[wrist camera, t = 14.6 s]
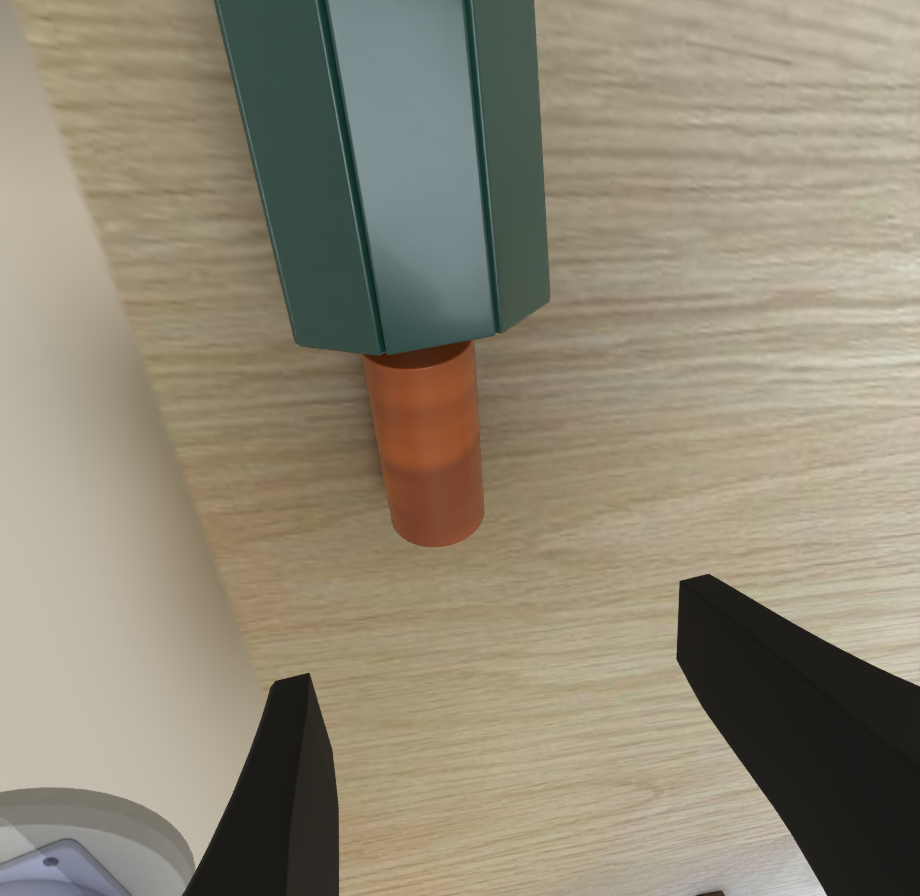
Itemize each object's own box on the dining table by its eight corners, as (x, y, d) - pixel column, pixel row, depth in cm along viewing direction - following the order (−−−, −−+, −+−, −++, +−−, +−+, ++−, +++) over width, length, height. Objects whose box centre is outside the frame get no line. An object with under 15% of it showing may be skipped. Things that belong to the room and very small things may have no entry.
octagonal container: (490, 255, 19) (580, 321, 13) (294, 288, 18) (296, 373, 12) (445, -228, 14) (553, -462, 8) (179, -211, 14) (95, -457, 8)
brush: (474, 468, 22) (505, 537, 20) (376, 490, 22) (395, 564, 19) (430, -147, 13) (478, -162, 10) (254, -134, 12) (261, -146, 10)
